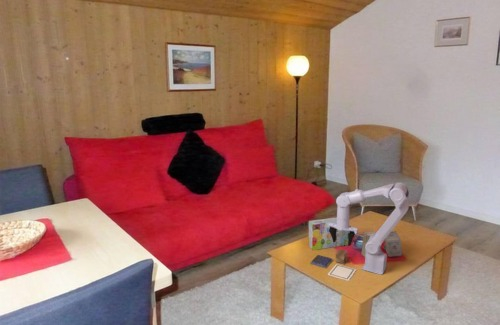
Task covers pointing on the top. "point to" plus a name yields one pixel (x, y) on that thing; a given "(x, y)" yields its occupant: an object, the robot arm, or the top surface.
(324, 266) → the ink pad
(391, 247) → the incense holder
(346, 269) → the marked card
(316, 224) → the snack box
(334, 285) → the top surface
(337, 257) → the walnut stamp
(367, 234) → the skincare box
